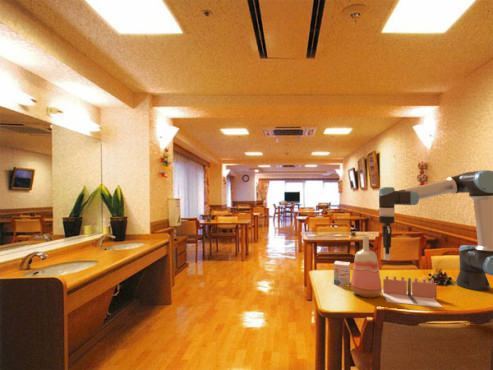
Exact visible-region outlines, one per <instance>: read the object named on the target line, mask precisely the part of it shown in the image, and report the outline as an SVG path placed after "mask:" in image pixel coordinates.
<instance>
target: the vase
mask: <svg viewBox="0 0 493 370" xmlns="http://www.w3.org/2000/svg"><path fill="white" fill-rule="evenodd" d="M362 238H363V239H362V249H360V250H358V251H356V253H354V254H355V256H354V260H353V261H354V262H353V269H352V276H351V280H350V289H351V291H352V292H353V293H354V294H355V295H357V296H358V297H359V296H360V297H362V298H369V299H370V298H371V299H372V298H373V299H374V298H377V297H379V296H381V294H382V289H383V288H382V282H381V276H380V275H381V274H380V269H379V263H378V255H377V254H376V252H374V251H371V249H370V237H369V236H368V235H367V236H365V235H363V236H362Z"/></svg>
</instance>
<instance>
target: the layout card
mask: <svg viewBox="0 0 493 370" xmlns="http://www.w3.org/2000/svg"><path fill="white" fill-rule="evenodd" d="M381 294H382V295H383V297H384V299H385V300H386V303H395V304H405V305H412V306H413V305H415V306H420V307H421V306H422V307H433V308H440V307H442V308H443V306H442V305H441V303H439V302H438V301H437V299H436V298H431V297H421V296H412V291H411V295H408V291H407V295H400V294H390V293H383V288H382V292H381Z"/></svg>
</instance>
